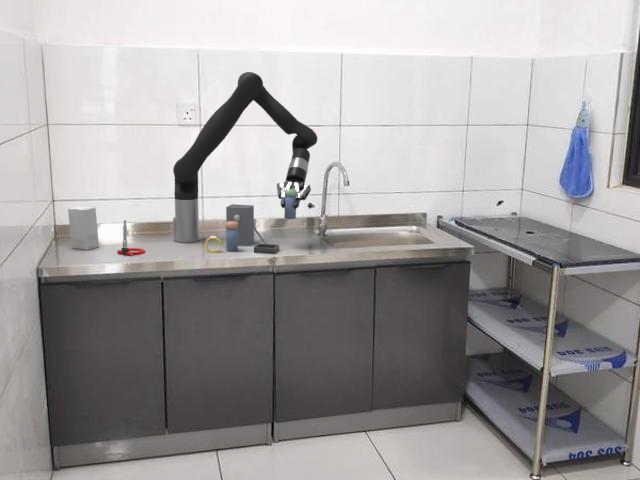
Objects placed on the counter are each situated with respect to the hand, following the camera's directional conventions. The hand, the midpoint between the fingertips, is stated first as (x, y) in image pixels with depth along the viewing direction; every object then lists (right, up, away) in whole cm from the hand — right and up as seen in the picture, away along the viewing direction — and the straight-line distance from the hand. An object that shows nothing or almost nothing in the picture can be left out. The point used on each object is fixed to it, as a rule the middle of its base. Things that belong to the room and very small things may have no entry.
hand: (289, 207), depth 252 cm
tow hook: (-58, -18, -6) cm, 61 cm away
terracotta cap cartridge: (-22, -17, +1) cm, 27 cm away
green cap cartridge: (0, -4, +3) cm, 5 cm away
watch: (-29, -17, -2) cm, 33 cm away
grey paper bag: (-78, -16, 0) cm, 80 cm away
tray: (-9, -17, 0) cm, 19 cm away
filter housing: (-20, -14, +13) cm, 28 cm away
